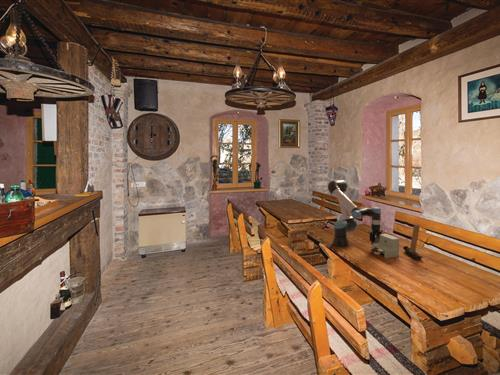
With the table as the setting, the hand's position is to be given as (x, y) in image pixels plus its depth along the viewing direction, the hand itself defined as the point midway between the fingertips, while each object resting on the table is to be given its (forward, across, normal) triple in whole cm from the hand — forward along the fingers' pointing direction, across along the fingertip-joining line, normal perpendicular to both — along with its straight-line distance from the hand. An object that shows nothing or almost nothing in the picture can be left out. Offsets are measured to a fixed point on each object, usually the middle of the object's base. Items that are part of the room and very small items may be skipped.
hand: (375, 248), depth 253 cm
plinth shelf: (+1, -1, -13) cm, 13 cm away
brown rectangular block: (+1, 0, -7) cm, 7 cm away
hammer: (+1, +17, -25) cm, 30 cm away
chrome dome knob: (+1, -6, -10) cm, 12 cm away
